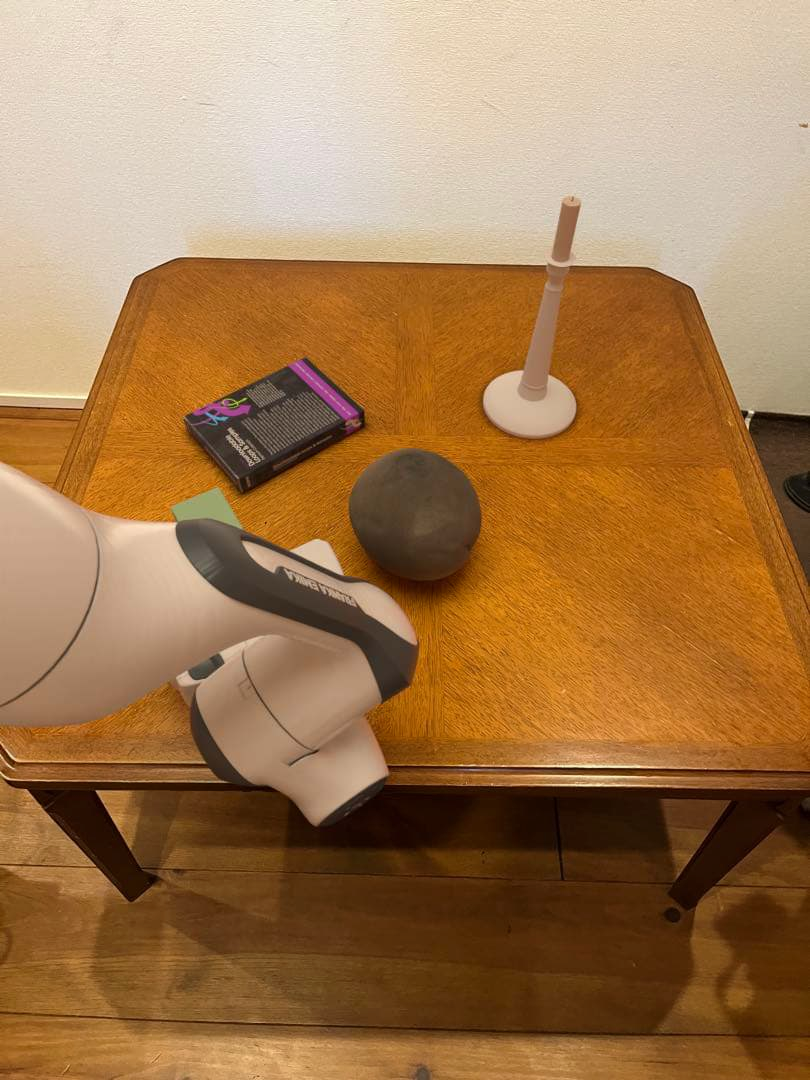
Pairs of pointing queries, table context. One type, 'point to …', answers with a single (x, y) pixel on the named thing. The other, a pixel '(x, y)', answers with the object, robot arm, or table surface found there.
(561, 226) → the candlestick
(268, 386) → the box
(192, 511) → the green box
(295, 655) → the robot arm
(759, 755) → the table surface
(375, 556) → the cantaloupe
